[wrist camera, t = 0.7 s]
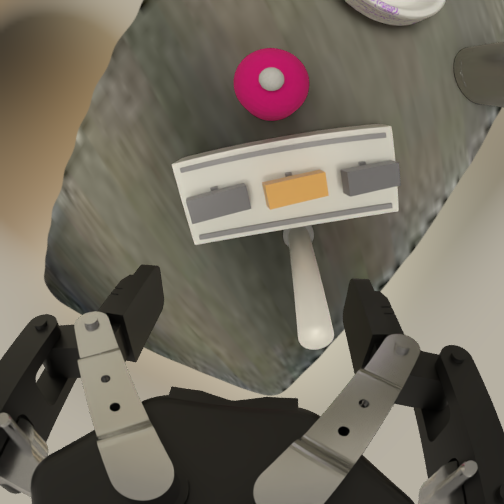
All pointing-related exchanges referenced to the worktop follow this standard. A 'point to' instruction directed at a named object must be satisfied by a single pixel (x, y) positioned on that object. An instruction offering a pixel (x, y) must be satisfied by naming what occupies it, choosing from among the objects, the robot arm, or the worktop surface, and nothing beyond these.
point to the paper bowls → (397, 10)
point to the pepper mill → (271, 83)
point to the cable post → (308, 290)
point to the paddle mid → (295, 189)
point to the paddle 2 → (370, 177)
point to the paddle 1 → (218, 203)
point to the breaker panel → (283, 165)
